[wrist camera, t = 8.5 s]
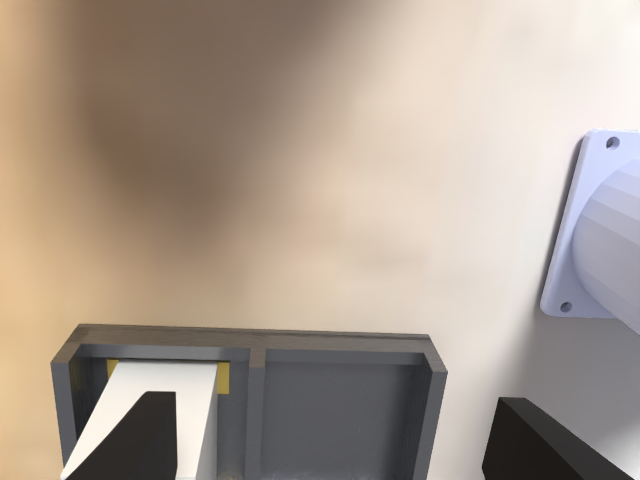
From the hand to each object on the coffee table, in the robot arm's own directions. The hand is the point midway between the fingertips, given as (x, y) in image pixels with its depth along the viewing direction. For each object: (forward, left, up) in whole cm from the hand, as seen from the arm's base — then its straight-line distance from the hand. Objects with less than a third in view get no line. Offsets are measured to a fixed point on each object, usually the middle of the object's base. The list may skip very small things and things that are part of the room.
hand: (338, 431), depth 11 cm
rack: (+2, +9, -10) cm, 14 cm away
